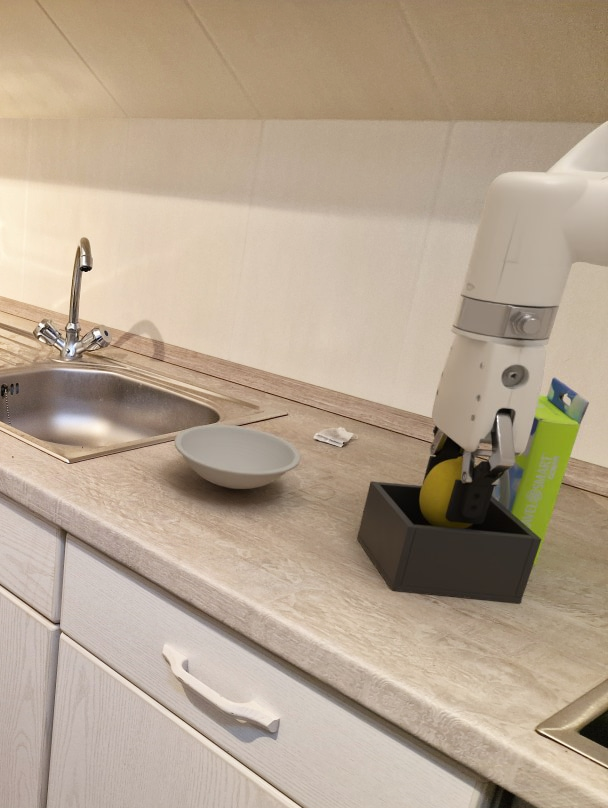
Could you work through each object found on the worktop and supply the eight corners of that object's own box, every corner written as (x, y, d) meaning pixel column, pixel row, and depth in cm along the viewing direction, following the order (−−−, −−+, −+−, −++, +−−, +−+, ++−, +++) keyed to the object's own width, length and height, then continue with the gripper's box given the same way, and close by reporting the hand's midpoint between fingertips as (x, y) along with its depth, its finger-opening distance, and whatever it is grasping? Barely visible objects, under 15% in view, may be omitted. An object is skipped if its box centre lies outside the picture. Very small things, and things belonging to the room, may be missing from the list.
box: (468, 521, 96) (512, 371, 89) (509, 527, 95) (556, 376, 88) (493, 561, 86) (544, 397, 80) (539, 568, 85) (594, 403, 79)
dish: (295, 524, 93) (304, 481, 91) (162, 503, 97) (168, 461, 95) (290, 470, 109) (297, 433, 107) (175, 454, 112) (180, 418, 111)
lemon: (407, 518, 86) (427, 443, 83) (468, 528, 84) (490, 452, 81) (414, 540, 81) (435, 461, 78) (479, 550, 80) (503, 471, 77)
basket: (470, 549, 89) (487, 491, 86) (520, 603, 78) (542, 539, 76) (356, 538, 90) (370, 480, 88) (391, 590, 80) (408, 526, 77)
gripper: (602, 344, 67) (534, 551, 73) (504, 306, 83) (455, 479, 89) (501, 337, 68) (443, 543, 74) (423, 301, 83) (381, 473, 90)
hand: (450, 506), depth 82 cm, fingers closed on lemon, 5 cm apart
